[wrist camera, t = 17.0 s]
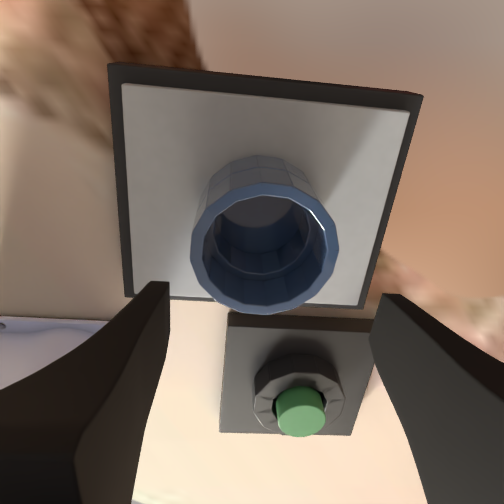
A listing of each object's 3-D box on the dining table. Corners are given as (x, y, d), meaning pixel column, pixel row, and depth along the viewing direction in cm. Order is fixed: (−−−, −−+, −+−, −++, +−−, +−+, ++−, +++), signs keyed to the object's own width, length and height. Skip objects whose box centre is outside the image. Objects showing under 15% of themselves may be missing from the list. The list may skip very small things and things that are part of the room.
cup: (218, 273, 20) (215, 327, 16) (183, 171, 18) (168, 206, 14) (324, 247, 20) (347, 297, 16) (304, 138, 17) (326, 165, 13)
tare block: (219, 416, 29) (218, 453, 27) (228, 312, 25) (227, 343, 22) (345, 420, 30) (356, 455, 27) (377, 319, 25) (394, 351, 23)
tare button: (273, 416, 26) (275, 436, 24) (278, 384, 24) (281, 404, 23) (316, 417, 26) (321, 438, 24) (325, 385, 24) (330, 405, 23)
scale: (131, 280, 23) (121, 303, 21) (118, 61, 18) (102, 63, 15) (354, 293, 24) (366, 316, 22) (408, 91, 19) (430, 96, 17)
